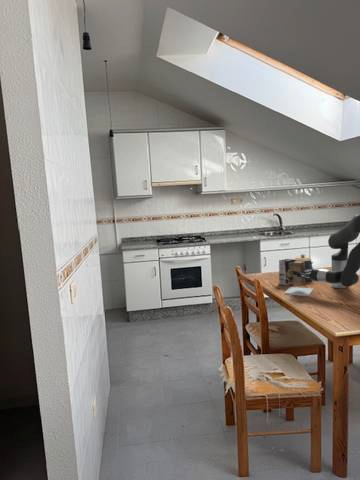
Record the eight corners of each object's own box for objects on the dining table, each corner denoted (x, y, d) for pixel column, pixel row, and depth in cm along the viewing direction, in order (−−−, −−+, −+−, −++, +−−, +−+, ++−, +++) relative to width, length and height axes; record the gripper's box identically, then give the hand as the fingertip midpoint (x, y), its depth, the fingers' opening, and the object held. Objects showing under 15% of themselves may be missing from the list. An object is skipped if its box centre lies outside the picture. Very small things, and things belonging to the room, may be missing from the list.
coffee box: (286, 285, 244) (286, 261, 242) (278, 283, 249) (278, 260, 248) (295, 283, 249) (295, 259, 247) (288, 281, 254) (287, 258, 252)
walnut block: (298, 283, 230) (297, 260, 228) (305, 284, 226) (304, 261, 224) (293, 284, 226) (292, 262, 225) (300, 286, 223) (300, 262, 221)
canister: (316, 278, 259) (316, 253, 257) (308, 282, 249) (307, 256, 247) (298, 276, 268) (298, 252, 266) (289, 280, 258) (289, 255, 256)
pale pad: (290, 288, 236) (290, 286, 236) (313, 290, 229) (313, 288, 229) (284, 294, 224) (284, 292, 224) (308, 296, 217) (308, 294, 217)
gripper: (327, 267, 218) (301, 264, 232) (314, 271, 209) (288, 267, 222) (327, 279, 219) (301, 276, 232) (314, 284, 210) (288, 280, 223)
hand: (295, 272), depth 227 cm, fingers closed on walnut block, 5 cm apart
